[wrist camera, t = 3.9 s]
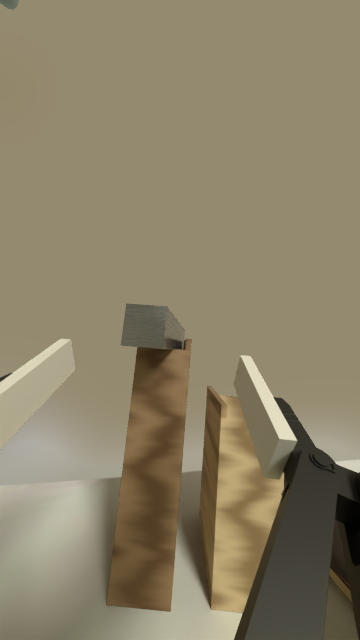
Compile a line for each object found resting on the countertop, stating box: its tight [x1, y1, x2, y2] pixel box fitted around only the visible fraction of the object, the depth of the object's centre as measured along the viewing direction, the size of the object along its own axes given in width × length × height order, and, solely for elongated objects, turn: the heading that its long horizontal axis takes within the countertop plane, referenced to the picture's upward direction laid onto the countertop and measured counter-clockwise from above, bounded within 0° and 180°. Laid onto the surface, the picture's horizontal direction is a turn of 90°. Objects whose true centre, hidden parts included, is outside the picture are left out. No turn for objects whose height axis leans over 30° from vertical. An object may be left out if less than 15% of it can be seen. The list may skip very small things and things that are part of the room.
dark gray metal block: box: [121, 304, 185, 349], centre depth 28 cm, size 4×22×4 cm, turn 174°
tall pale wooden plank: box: [199, 386, 284, 612], centre depth 28 cm, size 8×12×22 cm, turn 0°
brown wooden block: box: [106, 339, 192, 611], centre depth 29 cm, size 7×13×30 cm, turn 0°
